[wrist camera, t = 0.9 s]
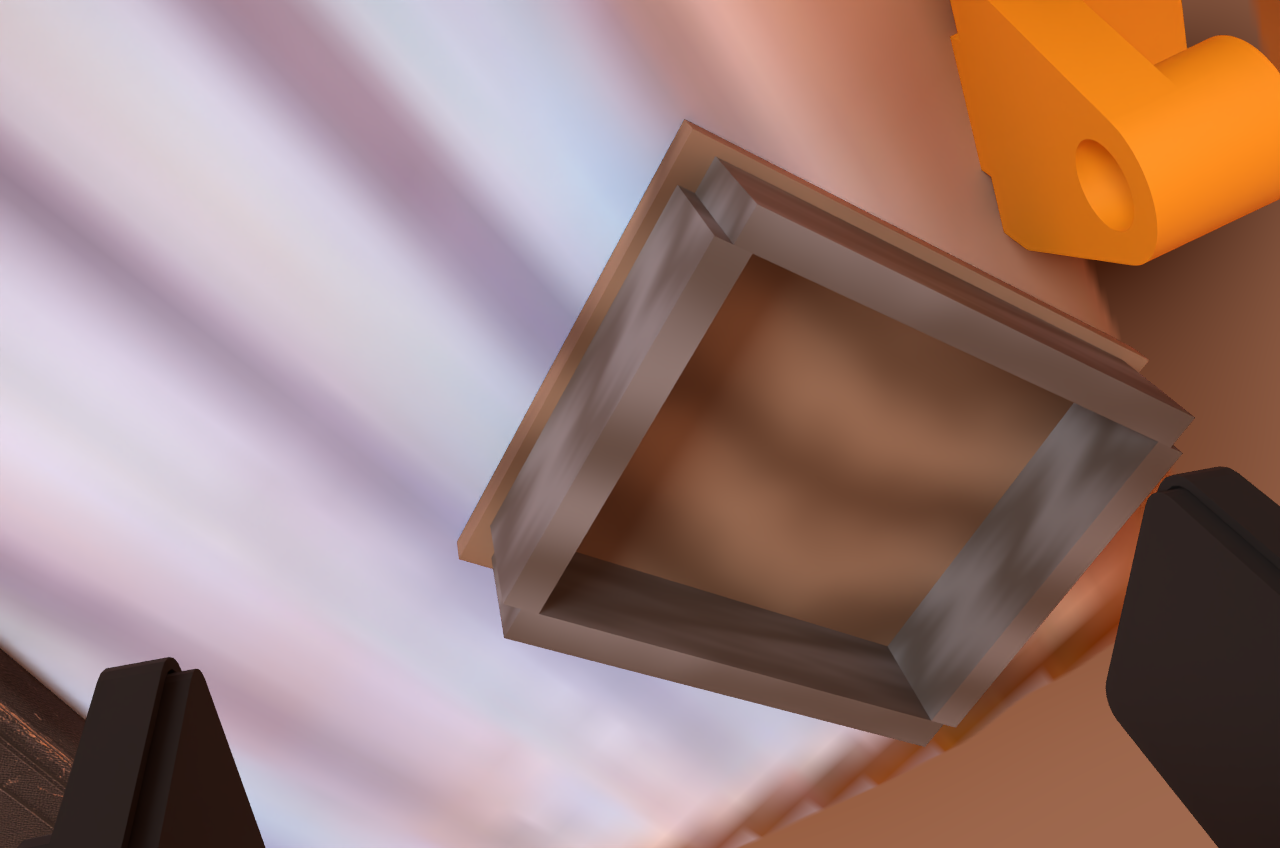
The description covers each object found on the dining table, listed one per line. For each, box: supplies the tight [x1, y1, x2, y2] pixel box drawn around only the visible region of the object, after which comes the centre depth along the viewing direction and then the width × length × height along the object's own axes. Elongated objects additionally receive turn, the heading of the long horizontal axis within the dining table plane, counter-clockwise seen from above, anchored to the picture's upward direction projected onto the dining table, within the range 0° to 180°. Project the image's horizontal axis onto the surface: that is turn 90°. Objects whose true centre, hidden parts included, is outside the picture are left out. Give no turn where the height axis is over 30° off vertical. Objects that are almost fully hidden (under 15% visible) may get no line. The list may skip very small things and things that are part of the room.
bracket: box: [950, 0, 1280, 265], centre depth 36 cm, size 11×7×12 cm, turn 23°
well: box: [457, 119, 1195, 747], centre depth 46 cm, size 20×24×6 cm
